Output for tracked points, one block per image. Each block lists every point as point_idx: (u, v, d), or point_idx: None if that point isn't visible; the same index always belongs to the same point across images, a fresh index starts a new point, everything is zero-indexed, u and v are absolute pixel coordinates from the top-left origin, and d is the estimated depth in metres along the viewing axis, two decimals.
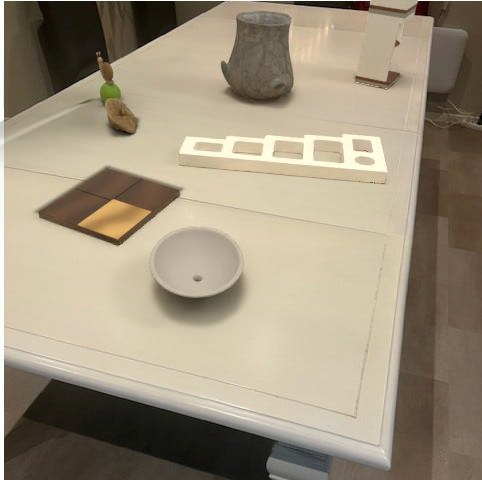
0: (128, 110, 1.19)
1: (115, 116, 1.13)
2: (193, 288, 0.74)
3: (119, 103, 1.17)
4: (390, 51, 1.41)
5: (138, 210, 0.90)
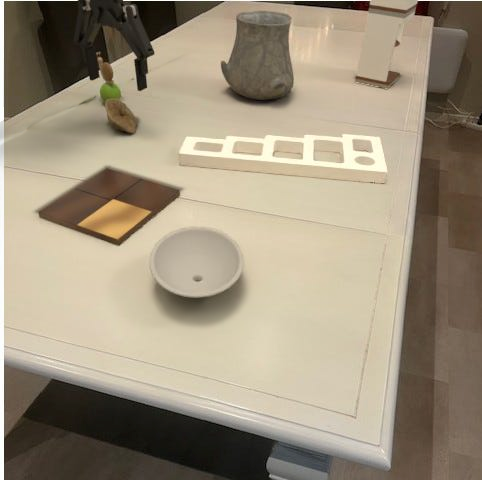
0: (128, 110, 1.19)
1: (115, 116, 1.13)
2: (193, 288, 0.74)
3: (119, 103, 1.17)
4: (390, 51, 1.41)
5: (138, 210, 0.90)
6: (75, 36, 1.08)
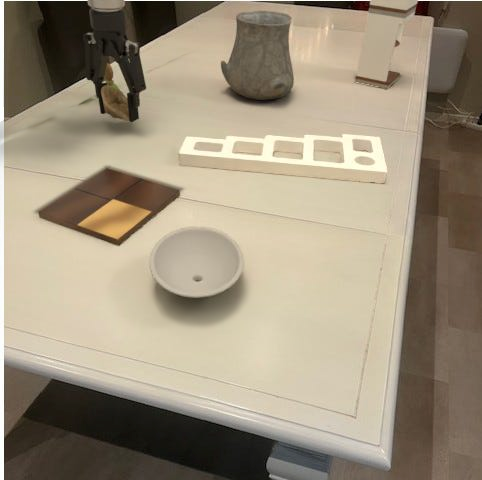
0: (125, 98, 1.17)
1: (110, 103, 1.12)
2: (193, 288, 0.74)
3: (115, 90, 1.16)
4: (390, 51, 1.41)
5: (138, 210, 0.90)
6: (87, 72, 1.12)
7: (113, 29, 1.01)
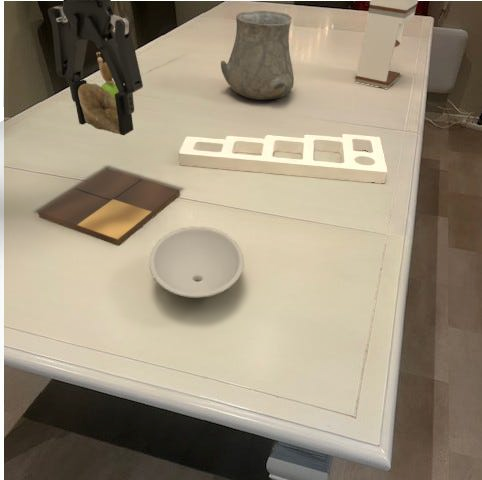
0: (113, 101, 0.83)
1: (92, 109, 0.77)
2: (193, 288, 0.74)
3: (100, 91, 0.81)
4: (390, 51, 1.41)
5: (138, 210, 0.90)
6: (57, 65, 0.78)
7: None
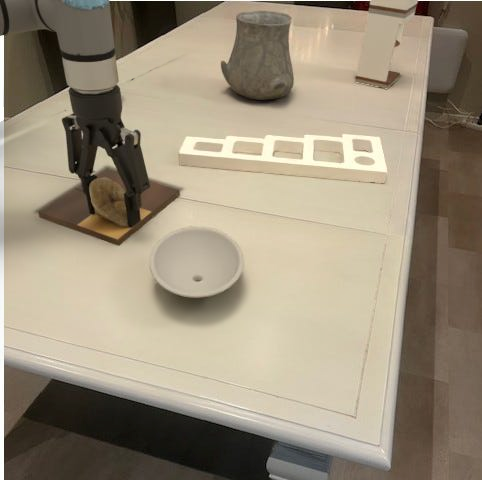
0: (122, 192, 0.88)
1: (102, 206, 0.82)
2: (193, 288, 0.74)
3: (109, 184, 0.86)
4: (390, 51, 1.41)
5: None
6: (69, 164, 0.83)
7: (103, 116, 0.72)
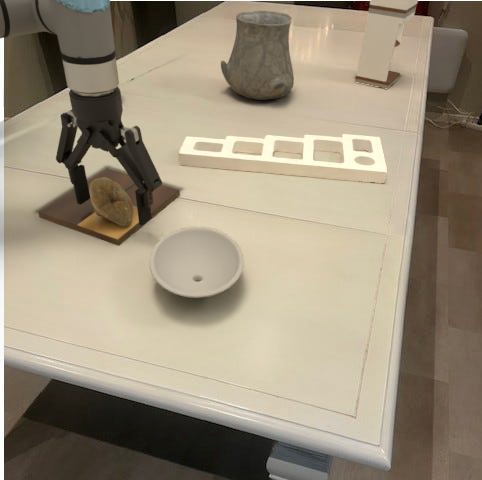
0: (122, 192, 0.88)
1: (102, 206, 0.82)
2: (193, 288, 0.74)
3: (109, 184, 0.86)
4: (390, 51, 1.41)
5: None
6: (58, 154, 0.82)
7: (103, 118, 0.72)
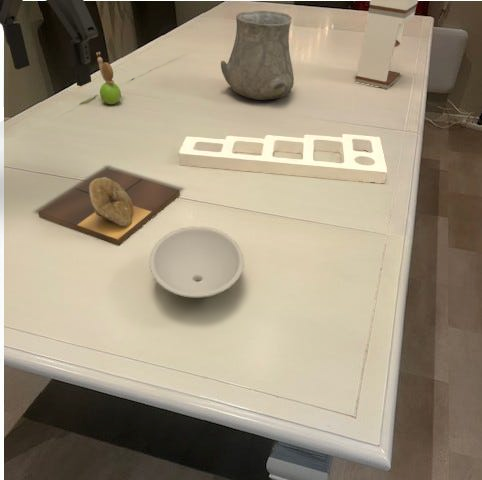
0: (122, 192, 0.88)
1: (102, 206, 0.82)
2: (193, 288, 0.74)
3: (109, 184, 0.86)
4: (390, 51, 1.41)
5: (138, 210, 0.90)
6: None
7: None
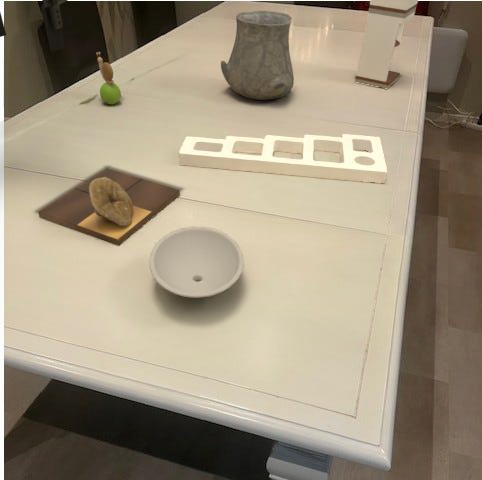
0: (122, 192, 0.88)
1: (102, 206, 0.82)
2: (193, 288, 0.74)
3: (109, 184, 0.86)
4: (390, 51, 1.41)
5: (138, 210, 0.90)
6: None
7: None
